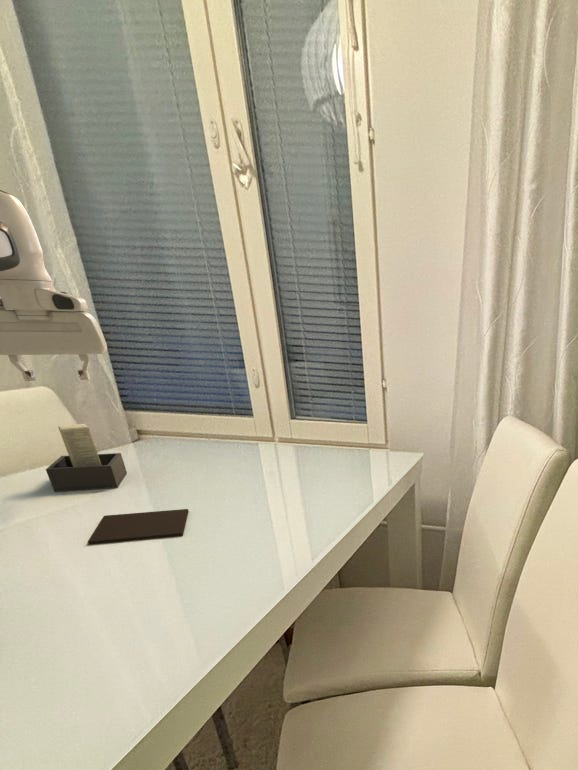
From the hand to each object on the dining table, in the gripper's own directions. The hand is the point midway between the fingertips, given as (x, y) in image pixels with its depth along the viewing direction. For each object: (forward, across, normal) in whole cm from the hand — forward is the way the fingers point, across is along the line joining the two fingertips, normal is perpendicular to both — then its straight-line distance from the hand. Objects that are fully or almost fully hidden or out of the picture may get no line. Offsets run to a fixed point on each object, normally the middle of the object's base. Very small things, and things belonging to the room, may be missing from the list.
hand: (58, 380), depth 110 cm
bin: (+20, 0, 0) cm, 20 cm away
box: (+20, 0, 0) cm, 20 cm away
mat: (+20, +14, -35) cm, 43 cm away
